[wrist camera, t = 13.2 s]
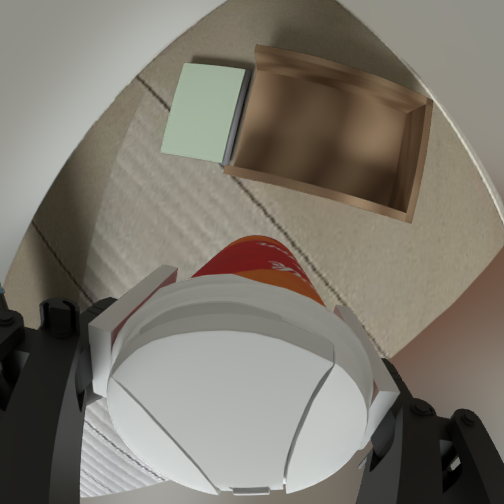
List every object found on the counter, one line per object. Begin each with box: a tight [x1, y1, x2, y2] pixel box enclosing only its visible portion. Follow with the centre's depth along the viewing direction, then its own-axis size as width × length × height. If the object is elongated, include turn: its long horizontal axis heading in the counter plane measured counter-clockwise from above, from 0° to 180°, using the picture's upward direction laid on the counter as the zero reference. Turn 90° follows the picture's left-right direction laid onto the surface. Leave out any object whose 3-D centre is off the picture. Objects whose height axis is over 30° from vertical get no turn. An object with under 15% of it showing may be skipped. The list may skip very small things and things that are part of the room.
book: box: [160, 63, 252, 166], centre depth 29 cm, size 2×11×8 cm
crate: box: [224, 44, 433, 223], centre depth 26 cm, size 18×13×6 cm
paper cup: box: [106, 235, 373, 495], centre depth 13 cm, size 8×8×14 cm
